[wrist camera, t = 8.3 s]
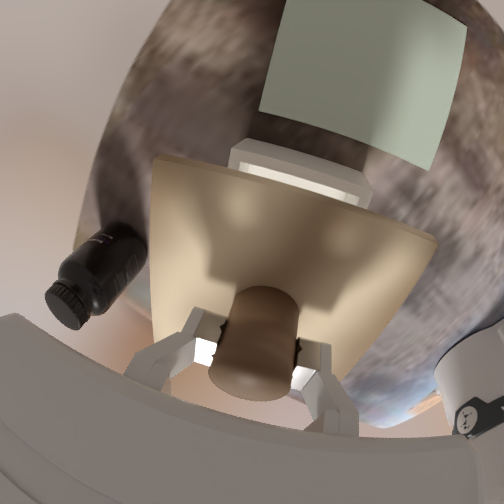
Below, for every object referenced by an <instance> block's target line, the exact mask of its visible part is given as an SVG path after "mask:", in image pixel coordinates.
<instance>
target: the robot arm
mask: <svg viewBox="0 0 504 504" xmlns="http://www.w3.org/2000/svg"><path fill="white" fill-rule="evenodd" d="M226 321H227V317H226V316H223V315H220V314H217V313H214V312H211V311H208V310H205V309H202V308H199V307H197V306H195V307H194V308H193V309H192V311H191V313H190V315H189V317H188V319H187V321H186V323H185V325H184V327H183V329H182V331H181V332H178V331H177V332H176V333H174V334H172V335H170V336H168V337H166V338H164V339H162V340H160V341H158V342H156V343H154V344H153V345H151V346H149V347H147V348H145V349H143V350H141V351H139V352H137V353H135V355H134V357H133V359H132V360H131V362H130V364H129V366H128V367H127V369H126V371H125V373H124V374H123V375H121V374H119V373H117V372H115V371H113V370H111V369H109V368H107V367H105V366H103V365H101V364H99V363H97V362H95V361H94V360H92V359H90V358H88V357H86V356H84V355H83V354H81V353H79V352H77V351H76V350H74V349H72V348H70V347H69V346H67V345H65V344H64V343H62V342H60V341H59V340H57V339H56V338H54V337H53V336H51V335H49V334H48V333H46V332H45V331H43V330H42V329H40V328H39V327H37V326H36V325H35V324H33V323H32V322H30V321H29V320H27V319H26V318H25V317H23V316H22V315H20V314H18V313H13V314H8V315H5V316H2V317H0V504H504V319H502V320H501V321H499V322H498V323H497V324H495V325H494V326H492V327H489V328H487V329H484V330H482V331H479V332H477V333H475V334H473V335H471V336H469V337H468V338H466V339H465V340H463V341H462V342H460V343H459V344H457V345H456V346H455V347H454V348H452V349H451V350H450V351H449V352H448V353H447V354H446V355H445V356H444V357H443V358H442V359H441V360H440V362H439V363H438V365H437V366H436V368H435V371H434V379H435V381H436V383H437V386H436V389H435V390H436V393H437V395H438V396H441V399H442V402H443V405H444V409H445V412H446V415H447V419H448V422H449V425H450V426H452V427H454V429H453V431H452V435H447V436H436V437H419V438H373V437H372V438H371V437H359V413H358V411H357V409H356V408H355V406H354V405H353V403H352V401H351V400H350V398H349V397H348V395H347V393H346V392H345V390H344V389H343V387H342V386H341V384H340V382H339V381H338V379H337V378H336V376H335V374H332V346H331V344H328V343H323V342H319V341H315V340H311V339H307V338H302V337H298V338H297V340H296V349H295V358H294V366H293V374H292V382H291V388H292V389H296V390H301V393H302V395H303V397H304V400H305V402H306V404H307V406H308V409H309V411H310V413H311V416H312V418H313V420H314V422H312V423H311V424H310V425H309V426H308V427H306V428H305V429H304V430H297V429H291V428H286V427H280V426H275V425H270V424H265V423H261V422H257V421H253V420H248V419H245V418H241V417H236V416H233V415H229V414H226V413H222V412H219V411H215V410H212V409H209V408H206V407H203V406H199V405H196V404H193V403H191V402H188V401H185V400H182V399H179V398H176V397H173V396H171V384H170V379H171V378H172V377H174V376H175V375H176V374H178V373H179V372H181V371H182V370H184V369H185V368H186V367H188V366H189V365H191V364H192V363H193V362H197V363H201V364H204V365H207V366H210V365H211V362H212V359H213V356H214V354H215V352H216V349H217V346H218V343H219V341H220V337H221V334H222V332H223V330H224V327H225V324H226Z"/></svg>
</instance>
